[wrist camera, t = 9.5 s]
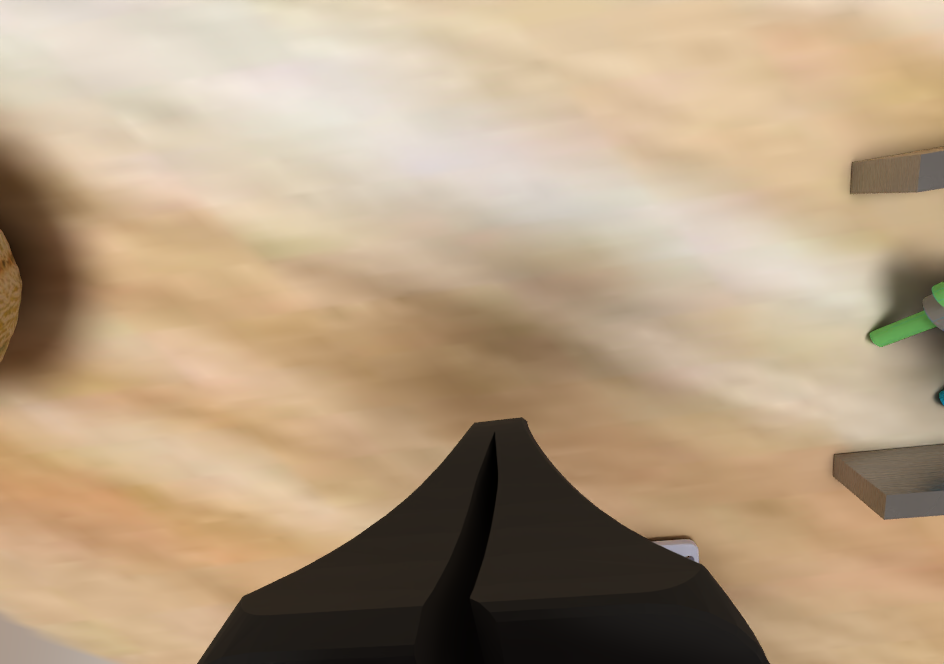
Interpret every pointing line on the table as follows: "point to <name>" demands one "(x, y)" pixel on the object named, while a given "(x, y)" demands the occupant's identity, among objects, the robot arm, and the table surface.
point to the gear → (915, 322)
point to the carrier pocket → (915, 468)
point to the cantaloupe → (8, 294)
